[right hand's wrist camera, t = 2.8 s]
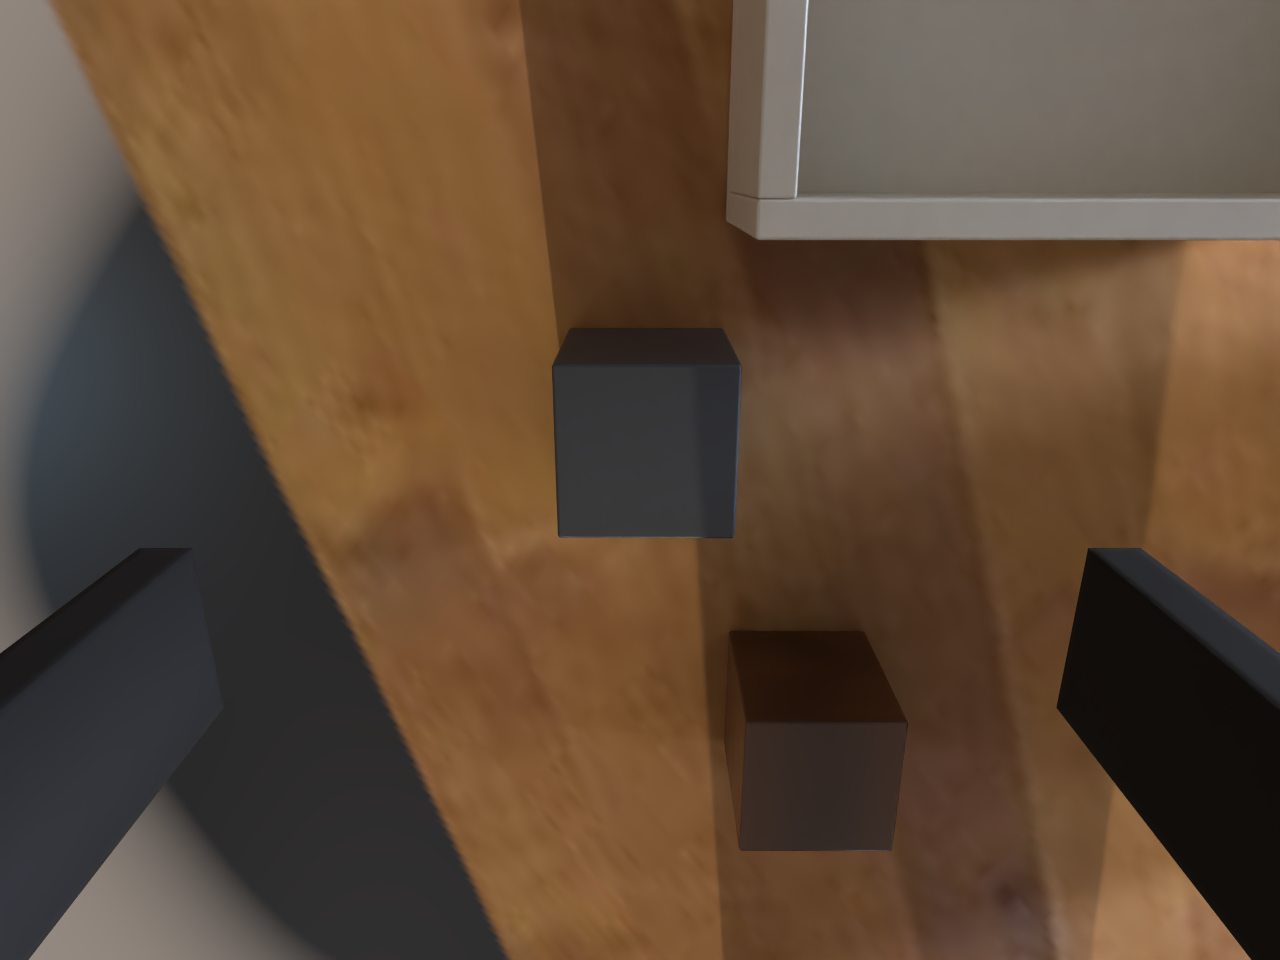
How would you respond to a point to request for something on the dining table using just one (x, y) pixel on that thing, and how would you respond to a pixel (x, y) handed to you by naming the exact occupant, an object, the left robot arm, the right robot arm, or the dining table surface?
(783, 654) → the walnut block
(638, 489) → the charcoal block
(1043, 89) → the tote
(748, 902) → the dining table surface
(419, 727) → the dining table surface
